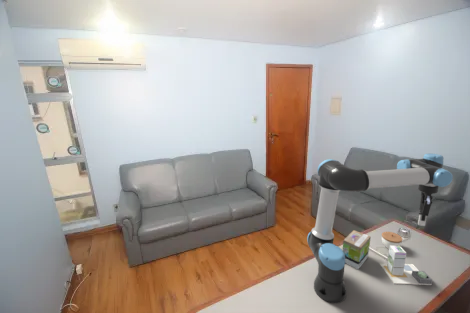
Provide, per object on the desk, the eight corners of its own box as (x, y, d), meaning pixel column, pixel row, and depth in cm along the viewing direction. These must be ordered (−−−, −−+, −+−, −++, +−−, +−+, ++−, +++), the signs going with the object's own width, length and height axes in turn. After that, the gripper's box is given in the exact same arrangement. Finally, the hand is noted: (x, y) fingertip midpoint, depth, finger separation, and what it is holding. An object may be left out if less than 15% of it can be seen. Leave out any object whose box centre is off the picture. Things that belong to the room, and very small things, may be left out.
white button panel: (394, 284, 114) (395, 278, 113) (379, 264, 127) (380, 259, 126) (431, 285, 112) (432, 279, 111) (412, 265, 126) (413, 260, 125)
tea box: (358, 270, 124) (361, 247, 120) (340, 261, 131) (342, 239, 128) (368, 257, 133) (371, 235, 130) (351, 249, 141) (353, 229, 137)
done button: (420, 281, 113) (421, 276, 113) (415, 276, 117) (416, 271, 116) (427, 281, 113) (428, 276, 112) (422, 276, 117) (423, 271, 116)
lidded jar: (405, 252, 136) (407, 238, 134) (387, 252, 136) (389, 239, 134) (393, 241, 146) (395, 228, 144) (376, 242, 147) (378, 229, 144)
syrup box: (403, 275, 118) (407, 252, 114) (391, 275, 119) (395, 252, 115) (397, 268, 123) (401, 245, 119) (386, 267, 124) (389, 245, 120)
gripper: (441, 189, 105) (433, 233, 111) (435, 180, 116) (428, 220, 121) (421, 187, 109) (414, 229, 115) (417, 178, 119) (411, 217, 125)
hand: (421, 224), depth 118 cm, fingers closed
